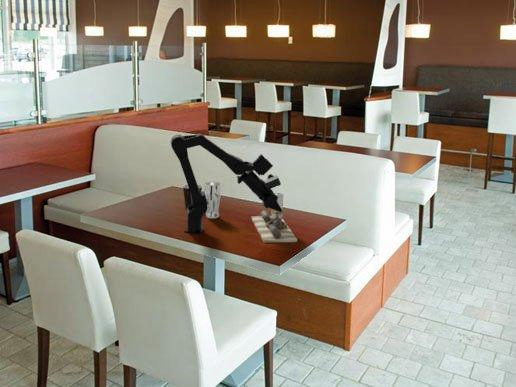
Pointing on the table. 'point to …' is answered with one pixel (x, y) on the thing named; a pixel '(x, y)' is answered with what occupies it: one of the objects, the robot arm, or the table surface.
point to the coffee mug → (188, 195)
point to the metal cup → (276, 215)
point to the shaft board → (269, 234)
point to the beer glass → (212, 199)
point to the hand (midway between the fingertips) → (280, 209)
